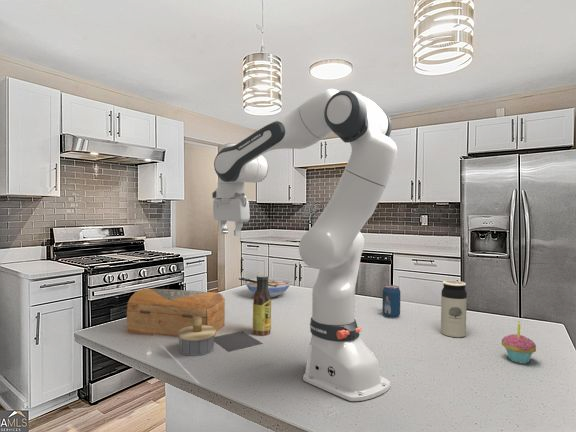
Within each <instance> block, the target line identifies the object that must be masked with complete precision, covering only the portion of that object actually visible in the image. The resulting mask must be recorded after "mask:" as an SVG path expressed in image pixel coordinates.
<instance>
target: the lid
mask: <svg viewBox="0 0 576 432" xmlns="http://www.w3.org/2000/svg"><path fill="white" fill-rule="evenodd" d="M216 334H217V332H216V329H215V328H214V327H212V326H208V325H202V317H200V316H196V317H193V326H188V327H185V328H182V329H180V330H179V332H178V339H179V338H181V339H183V340H189V341H198V340H205V339H208V338H211V337H213V336H214V337H216Z"/></svg>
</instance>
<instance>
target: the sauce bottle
mask: <svg viewBox="0 0 576 432" xmlns="http://www.w3.org/2000/svg"><path fill="white" fill-rule="evenodd" d="M268 277H269V276H268V275H266V274H265V275H264V274H260V275H257V276H256V278H257V290H256V292H255V293H254V294H253V301H252V333H253V335H255V336H258V337H259V336H260V337H264V336H269V335H270V334H271V329H272V298H271V296H270V293H269V290H268Z"/></svg>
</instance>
